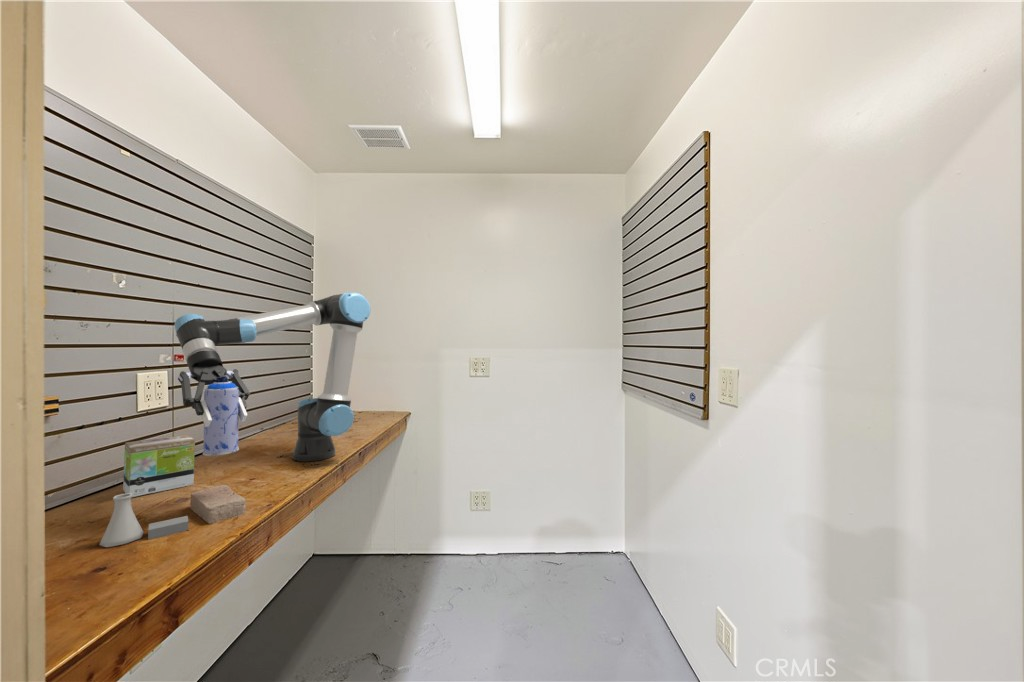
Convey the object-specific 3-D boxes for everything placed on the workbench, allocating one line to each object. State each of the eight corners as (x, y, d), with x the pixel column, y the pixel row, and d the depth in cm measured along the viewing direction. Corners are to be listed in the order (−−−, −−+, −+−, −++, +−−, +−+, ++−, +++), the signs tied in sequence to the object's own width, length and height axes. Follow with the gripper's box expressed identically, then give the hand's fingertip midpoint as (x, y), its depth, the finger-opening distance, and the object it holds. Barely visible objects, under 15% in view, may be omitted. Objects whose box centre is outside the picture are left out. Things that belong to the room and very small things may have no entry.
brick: (247, 514, 103) (247, 496, 103) (208, 526, 97) (208, 507, 97) (225, 499, 114) (225, 483, 114) (188, 509, 107) (189, 491, 107)
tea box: (128, 499, 113) (129, 447, 113) (122, 491, 119) (123, 442, 119) (194, 485, 124) (195, 438, 125) (186, 478, 131) (186, 433, 131)
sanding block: (187, 525, 97) (187, 515, 97) (188, 531, 94) (188, 521, 94) (148, 534, 92) (148, 523, 92) (148, 541, 89) (148, 530, 89)
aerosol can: (244, 450, 107) (245, 376, 107) (210, 457, 100) (211, 378, 101) (230, 446, 111) (231, 375, 111) (197, 452, 105) (198, 376, 105)
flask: (141, 529, 94) (141, 487, 95) (146, 539, 90) (147, 494, 90) (97, 541, 89) (98, 496, 89) (101, 551, 84) (101, 504, 84)
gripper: (238, 365, 123) (263, 423, 114) (153, 368, 106) (174, 437, 97) (246, 348, 120) (273, 406, 111) (160, 349, 103) (183, 417, 94)
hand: (227, 420), depth 104 cm, fingers closed on aerosol can, 7 cm apart
